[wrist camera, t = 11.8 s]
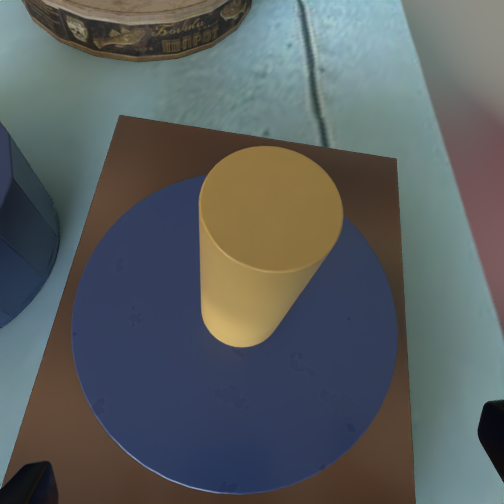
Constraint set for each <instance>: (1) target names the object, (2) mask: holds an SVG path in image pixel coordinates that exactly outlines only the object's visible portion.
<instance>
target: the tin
mask: <svg viewBox="0 0 504 504" xmlns="http://www.w3.org/2000/svg"><path fill="white" fill-rule="evenodd" d="M58 245H59V222H58V217H57V212H56V210H55V207H54V203H53V200H52V199H51V197H50V195H49V194H48V192H47V191H46V189H45V188H44V186H43V185H42V183H41V182H40V180H39V179H38V177H37V176H36V174H35V173H34V171H33V170H32V168H31V166H30V165H29V163H28V162H27V160H26V159H25V157H24V156H23V154H22V153H21V151H20V150H19V148H18V147H17V145H16V144H15V142H14V141H13V139H12V137H11V136H10V134H9V133H8V132H7V130H6V129H5V127H4V126H3V125H2V123H1V122H0V328H2V327H3V326H5V325H6V324H7V323H9V322H10V321H11V320H12V319H14V318H15V317H16V316H17V315H18V314H19V313H21V312H22V311H23V310H24V308H25V307H26V306H27V305H28V304H29V303H30V302H31V301H32V300H33V299H34V297H35V296H36V295H37V293H38V292H39V291H40V289H41V288H42V286H43V285H44V283H45V281H46V279H47V278H48V276H49V274H50V272H51V269H52V267H53V264H54V262H55V258H56V255H57V251H58Z"/></svg>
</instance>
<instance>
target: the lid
mask: <svg viewBox="0 0 504 504" xmlns="http://www.w3.org/2000/svg"><path fill="white" fill-rule="evenodd" d="M71 333H72V351H73V357H74V362H75V368H76V372H77V375H78V378H79V381H80V384H81V387H82V390H83V393H84V395H85V397H86V399H87V401H88V403H89V405H90V407H91V409H92V411H93V413H94V415H95V416H96V418H97V419H98V420H99V422H100V423H101V425H102V426H103V427H104V429H105V430H106V432H107V433H108V434H109V436H110V437H111V438H112V439H113V440H114V441H115V442H116V443H117V444H118V445H119V446H120V447H121V448H122V449H123V450H124V451H125V452H126V453H127V454H129V455H130V456H131V457H132V458H134V459H135V460H136V461H138V462H139V463H140V464H142V465H143V466H144V467H145V468H147V469H149V470H151V471H153V472H155V473H156V474H158V475H160V476H162V477H164V478H165V479H167V480H170V481H173V482H175V483H178V484H181V485H183V486H186V487H189V488H192V489H197V490H202V491H207V492H211V493H217V494H238V495H243V494H253V493H262V492H268V491H272V490H276V489H280V488H284V487H288V486H291V485H293V484H296V483H298V482H300V481H303V480H305V479H307V478H310V477H312V476H314V475H315V474H317V473H319V472H320V471H322V470H323V469H325V468H327V467H328V466H330V465H331V464H333V463H334V462H335V461H337V460H338V459H339V458H340V457H341V456H342V455H344V454H345V453H346V452H347V451H348V450H350V449H351V448H352V446H353V445H354V444H355V443H356V442H357V441H358V440H359V439H360V437H361V436H362V435H363V434H364V433H365V432H366V430H367V429H368V427H369V426H370V424H371V423H372V421H373V420H374V418H375V417H376V415H377V413H378V412H379V410H380V407H381V405H382V403H383V401H384V399H385V397H386V395H387V392H388V389H389V386H390V383H391V379H392V376H393V373H394V368H395V362H396V356H397V343H398V326H397V316H396V308H395V304H394V299H393V295H392V291H391V288H390V285H389V282H388V279H387V277H386V274H385V272H384V270H383V268H382V266H381V263H380V261H379V259H378V257H377V256H376V254H375V252H374V251H373V249H372V248H371V246H370V245H369V243H368V242H367V240H366V239H365V238H364V237H363V235H362V234H361V233H360V232H359V230H358V229H357V228H356V227H355V226H354V225H353V224H352V223H351V222H350V221H349V220H348V219H347V218H346V217H345V216H344V215H343V206H342V201H341V197H340V195H339V192H338V190H337V188H336V186H335V184H334V182H333V181H332V179H331V178H330V176H329V175H328V174H327V173H326V172H325V171H324V170H323V169H322V168H321V167H320V166H319V165H318V164H316V163H315V162H314V161H312V160H311V159H309V158H308V157H306V156H304V155H302V154H300V153H298V152H295V151H292V150H289V149H285V148H281V147H274V146H257V147H250V148H245V149H242V150H239V151H236V152H234V153H232V154H230V155H228V156H227V157H225V158H224V159H222V160H221V161H220V162H219V163H218V164H216V165H215V166H214V168H213V169H212V170H211V171H210V172H209V174H207V175H202V176H197V177H193V178H188V179H185V180H182V181H179V182H176V183H174V184H171V185H168V186H166V187H164V188H162V189H160V190H158V191H156V192H154V193H152V194H150V195H149V196H147V197H146V198H144V199H143V200H141V201H139V202H138V203H136V204H135V205H134V206H133V207H132V208H130V209H129V210H128V211H127V212H125V213H124V214H123V215H122V216H121V217H120V218H119V219H118V220H117V221H116V222H115V223H114V224H113V225H112V226H111V227H110V228H109V229H108V231H107V232H106V233H105V235H104V236H103V238H102V239H101V240H100V242H99V243H98V244H97V246H96V247H95V249H94V251H93V253H92V255H91V256H90V258H89V260H88V262H87V264H86V266H85V269H84V271H83V274H82V276H81V279H80V281H79V284H78V288H77V292H76V296H75V300H74V304H73V314H72V323H71Z"/></svg>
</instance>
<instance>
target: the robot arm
mask: <svg viewBox="0 0 504 504" xmlns="http://www.w3.org/2000/svg"><path fill="white" fill-rule="evenodd" d="M478 437H479V440H480V442H481V444H482V446H483V448H484V450H485V451H486V453H487V455H488V456H489V458H490V460H491V462H492V463H493V465H494V467H495V469H496V470H497V472H498V474H499V476H500V477H501V479H502V481H503V482H504V400H494V401H488V402H486V403H485V404H484V406H483V409H482V413H481V417H480V422H479V426H478ZM58 502H59V492H58V487H57V483H56V479H55V475H54V471H53V467H52V464H51V463H50V462H49V461H46V460H45V461H38V462H30V463H27V464H25V465H24V466H22V467H21V468H20V469H19V470H18V471H17V472H16V473H15V475H14V476H13V477H12V478H11V479H10V480H9V481H8V482H7V483H6V484H5V485H4V486H3V487H2V488H1V489H0V504H58Z"/></svg>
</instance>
